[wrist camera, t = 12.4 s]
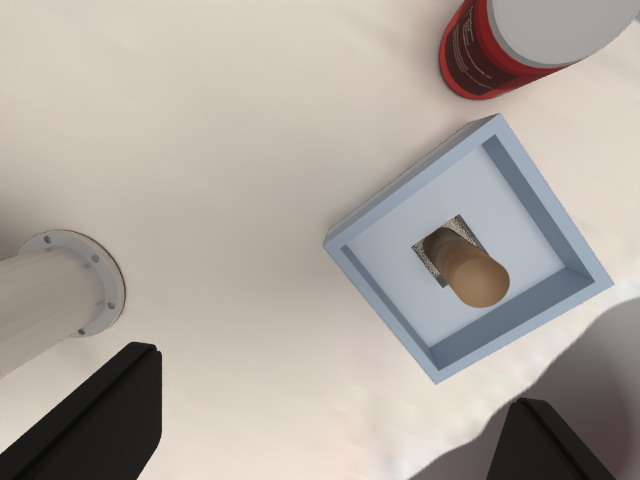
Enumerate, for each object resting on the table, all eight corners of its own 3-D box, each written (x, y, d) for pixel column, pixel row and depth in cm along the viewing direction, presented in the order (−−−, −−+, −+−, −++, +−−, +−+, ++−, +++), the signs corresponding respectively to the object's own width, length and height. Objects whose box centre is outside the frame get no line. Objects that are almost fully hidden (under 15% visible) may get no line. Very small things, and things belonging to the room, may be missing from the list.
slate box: (421, 346, 33) (435, 384, 28) (328, 230, 31) (322, 246, 26) (563, 260, 30) (614, 284, 24) (469, 122, 28) (500, 112, 22)
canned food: (552, 12, 25) (698, -96, 14) (506, 114, 27) (604, 85, 17) (461, -17, 25) (539, -145, 15) (422, 86, 27) (466, 40, 17)
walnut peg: (436, 268, 31) (473, 317, 22) (416, 241, 31) (444, 279, 21) (467, 248, 30) (520, 289, 21) (447, 220, 30) (491, 248, 20)
